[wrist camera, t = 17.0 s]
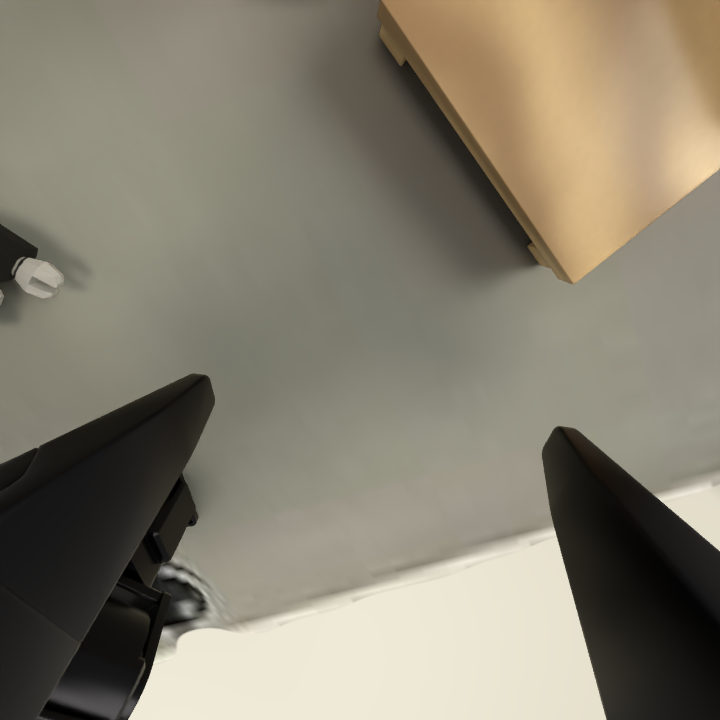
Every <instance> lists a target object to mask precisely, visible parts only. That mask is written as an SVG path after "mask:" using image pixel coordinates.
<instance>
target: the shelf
mask: <svg viewBox="0 0 720 720" xmlns="http://www.w3.org/2000/svg"><path fill="white" fill-rule="evenodd" d="M377 18H378V19H379V21H380V22H381V29H380V34H379V36H380V38H381V39H382V41H383V42H384V44H385V45H386V46H387V48H388V49H389V51H390V52H391V54H392V55H393V56H394V58H395V59H396V61H397V62H398V63H399V65H400V66H402V65H403V64H404V62H405V61H406V60H407V61H408V63H409V64H410V65H411V67H412V68H413V70H414V71H415V73H416V74H417V76H418V77H419V78H420V80H421V81H422V83H423V84H424V86H425V87H426V89H427V90H428V91H429V93H430V94H431V96H432V97H433V99H434V100H435V102H436V103H437V104H438V106H439V107H440V109H441V110H442V112H443V113H444V115H445V116H446V117H447V119H448V120H449V122H450V123H451V125H452V126H453V128H454V129H455V130H456V132H457V133H458V135H459V136H460V138H461V139H462V141H463V142H464V143H465V145H466V146H467V148H468V149H469V151H470V152H471V154H472V155H473V156H474V158H475V159H476V161H477V162H478V164H479V165H480V167H481V168H482V169H483V171H484V172H485V174H486V175H487V177H488V178H489V180H490V181H491V182H492V184H493V185H494V187H495V188H496V190H497V191H498V193H499V194H500V195H501V197H502V198H503V200H504V201H505V203H506V204H507V206H508V207H509V209H510V210H511V211H512V213H513V214H514V216H515V217H516V219H517V220H518V222H519V223H520V224H521V226H522V227H523V229H524V230H525V232H526V233H527V235H528V236H529V237H530V239H531V240H532V242H531V243H530V244H529V245H528V246H527V247H528V248H529V250H530V251H531V253H532V254H533V256H534V257H535V258H536V260H537V261H538V263H539V264H540V265H542V266H545V267H548V268H551V269H552V271H553V272H554V274H555V275H556V276H557V278H558V279H560V280H562V281H565V282H568V283H571V284H575V283H576V282H577V281H579V280H580V279H581V278H582V277H584V276H585V275H586V274H587V273H589V272H590V271H591V270H592V269H594V268H595V267H596V266H597V265H599V264H600V263H601V262H603V261H604V260H605V259H606V258H608V257H609V256H610V255H611V254H613V253H614V252H615V251H616V250H618V249H619V248H620V247H622V246H623V245H624V244H625V243H627V242H628V241H629V240H630V239H632V238H633V237H634V236H635V235H637V234H638V233H639V232H640V231H642V230H643V229H644V228H646V227H647V226H648V225H649V224H651V223H652V222H653V221H654V220H656V219H657V218H658V217H659V216H661V215H662V214H663V213H664V212H666V211H667V210H668V209H670V208H671V207H672V206H673V205H675V204H676V203H677V202H678V201H680V200H681V199H682V198H683V197H685V196H686V195H687V194H688V193H690V192H691V191H692V190H694V189H695V188H696V187H697V186H699V185H700V184H701V183H702V182H704V181H705V180H706V179H707V178H709V177H710V176H711V175H713V174H714V173H715V172H716V171H718V170H719V169H720V0H380V3H379V8H378V14H377Z"/></svg>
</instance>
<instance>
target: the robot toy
mask: <svg viewBox="0 0 720 720" xmlns="http://www.w3.org/2000/svg"><path fill="white" fill-rule="evenodd" d="M37 251H38V248H36V247H34V246H33V245H31V244H30V243H28V242H27V241H25V240H24V239H22V238H21V237H19V236H18V235H16V234H14V233H13V232H11V231H10V230H8V229H7V228H5V227H4V226H2V225H1V224H0V282H2V281H9V280H12V279H14V278H15V280H16V281H17V282H18V284H19V285H20V286H21V287H22V289H23V290H24V291H25V292H27V293H30V294H32V295H35V296H37V297H40V298H52V297H54V296H56V295H57V294H58V292H59V291H60V290H59V289H57V288H58V287H61V286H62V285H63V284H64V276H63V274H62V273H61V272H60V271H59V270H58V269H57V268H56V267H54V266H53V265H52V264H51V263H49V262H45V261H41V260H37V259H35V258H36V256H37ZM4 297H5V296H4V294H3V293H2V291H1V289H0V306H1V303H2V301H3V299H4Z"/></svg>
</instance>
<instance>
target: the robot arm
mask: <svg viewBox="0 0 720 720" xmlns="http://www.w3.org/2000/svg"><path fill="white" fill-rule="evenodd" d="M214 404H215V397H214V393H213V389H212V385H211V381H210V378H209V377H208V376H206V375H202V374H190V375H188V376H186V377H184V378H181V379H179V380H177V381H175V382H173V383H171V384H169V385H167V386H165V387H163V388H160V389H158V390H156V391H154V392H152V393H150V394H148V395H146V396H144V397H142V398H140V399H137V400H135V401H133V402H131V403H129V404H127V405H125V406H123V407H121V408H119V409H116V410H114V411H112V412H110V413H108V414H106V415H104V416H102V417H100V418H98V419H95V420H93V421H91V422H89V423H87V424H85V425H83V426H81V427H79V428H77V429H74V430H72V431H70V432H68V433H66V434H64V435H62V436H60V437H58V438H56V439H53V440H51V441H49V442H47V443H45V444H43V445H41V446H40V447H39V448H34V449H32V450H30V451H28V452H26V453H24V454H22V455H20V456H18V457H16V458H13V459H11V460H9V461H7V462H5V463H3V464H0V720H128V718H129V717H130V715H131V713H132V712H133V710H134V708H135V706H136V704H137V702H138V700H139V698H140V696H141V694H142V692H143V690H144V688H145V685H146V683H147V680H148V678H149V675H150V672H151V669H152V666H153V662H154V658H155V655H156V651H157V647H158V644H159V640H160V636H161V632H162V629H163V625H164V621H165V617H166V614H167V610H168V606H169V602H170V599H171V594H168V593H166V592H164V591H162V592H160V591H158V590H156V589H154V588H151V585H152V583H153V581H154V579H155V577H156V575H157V573H158V571H159V569H160V567H161V565H162V564H165V563H168V562H169V561H170V560H171V558H172V556H173V554H174V552H175V550H176V548H177V546H178V544H179V542H180V540H181V538H182V536H183V534H184V532H185V529H186V527H188V526H194V525H195V524H196V523H197V520H198V514H197V512H196V509H195V508H196V507H195V504H194V501H193V499H192V496H191V493H190V491H189V488H188V485H187V483H186V482H185V480H184V477H183V475H182V471H183V469H184V468H185V466H186V464H187V462H188V461H189V459H190V457H191V455H192V453H193V451H194V449H195V447H196V445H197V443H198V440H199V438H200V436H201V434H202V432H203V429H204V427H205V425H206V423H207V420H208V418H209V416H210V414H211V412H212V409H213V407H214ZM542 459H543V466H544V473H545V479H546V486H547V492H548V499H549V505H550V511H551V516H552V520H553V524H554V528H555V531H556V535H557V539H558V542H559V546H560V550H561V554H562V557H563V561H564V564H565V568H566V572H567V575H568V579H569V583H570V586H571V590H572V594H573V598H574V601H575V605H576V609H577V612H578V616H579V620H580V624H581V627H582V631H583V634H584V638H585V642H586V646H587V649H588V653H589V657H590V660H591V664H592V667H593V671H594V675H595V679H596V682H597V686H598V690H599V693H600V697H601V701H602V705H603V708H604V712H605V715H606V719H607V720H720V551H719V550H718V549H716V548H715V547H714V546H713V545H712V544H710V543H709V542H708V541H707V540H706V539H705V538H703V537H702V536H701V535H700V534H699V533H698V532H696V531H695V530H694V529H693V528H692V527H691V526H689V525H688V524H687V523H686V522H685V521H683V520H682V519H681V518H680V517H679V516H677V515H676V514H675V513H674V512H673V511H672V510H671V509H669V508H668V507H667V506H666V505H665V504H664V503H662V502H661V501H660V500H659V499H658V498H656V497H655V496H654V495H653V494H652V493H651V492H649V491H648V490H647V489H646V488H645V487H644V486H642V485H641V484H640V483H639V482H638V481H637V480H635V479H634V478H633V477H632V476H631V475H630V474H628V473H627V472H626V471H625V470H624V469H622V468H621V467H620V466H619V465H618V464H617V463H615V462H614V461H613V460H612V459H611V458H610V457H608V456H607V455H606V454H605V453H604V452H603V451H601V450H600V449H599V448H598V447H597V446H595V445H594V444H593V443H592V442H591V441H590V440H588V439H587V438H586V437H585V436H584V435H583V434H581V433H580V432H579V431H578V430H576V429H574V428H569V427H562V426H557V427H556V428H554V430H553V431H552V433H551V435H550V437H549V438H548V440H547V442H546V443H545V445H544V447H543V450H542Z"/></svg>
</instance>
